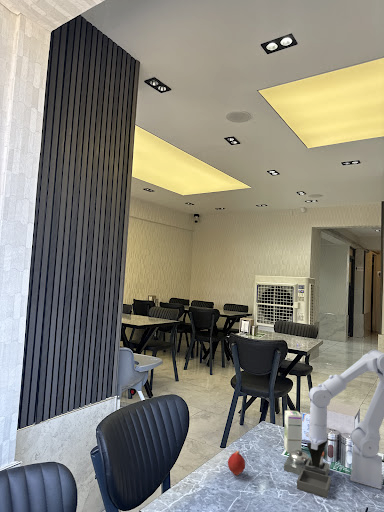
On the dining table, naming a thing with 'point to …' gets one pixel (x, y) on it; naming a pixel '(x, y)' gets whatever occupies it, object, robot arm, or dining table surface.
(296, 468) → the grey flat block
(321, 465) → the pin
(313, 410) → the robot arm
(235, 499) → the dining table surface
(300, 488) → the tray
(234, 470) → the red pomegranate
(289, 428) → the syrup box
